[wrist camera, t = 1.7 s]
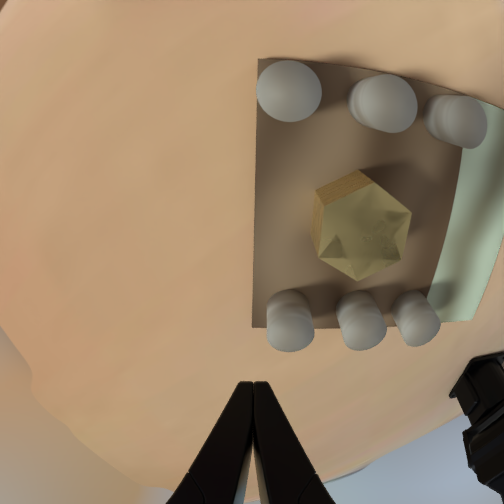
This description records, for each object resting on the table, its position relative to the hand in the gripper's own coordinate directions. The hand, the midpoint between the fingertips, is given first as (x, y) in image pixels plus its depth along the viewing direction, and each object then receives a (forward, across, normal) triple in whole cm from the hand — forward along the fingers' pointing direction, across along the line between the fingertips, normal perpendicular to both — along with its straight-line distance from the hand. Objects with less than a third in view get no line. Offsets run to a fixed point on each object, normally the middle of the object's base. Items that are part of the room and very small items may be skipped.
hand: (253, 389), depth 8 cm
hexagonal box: (+12, -6, -1) cm, 13 cm away
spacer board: (+12, -10, -1) cm, 16 cm away
